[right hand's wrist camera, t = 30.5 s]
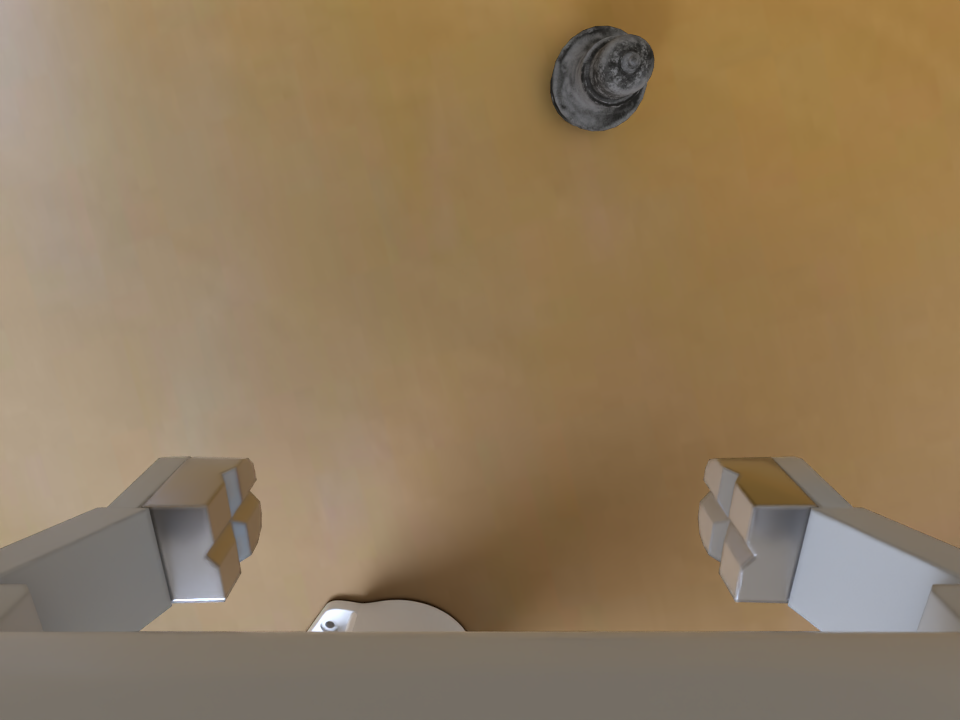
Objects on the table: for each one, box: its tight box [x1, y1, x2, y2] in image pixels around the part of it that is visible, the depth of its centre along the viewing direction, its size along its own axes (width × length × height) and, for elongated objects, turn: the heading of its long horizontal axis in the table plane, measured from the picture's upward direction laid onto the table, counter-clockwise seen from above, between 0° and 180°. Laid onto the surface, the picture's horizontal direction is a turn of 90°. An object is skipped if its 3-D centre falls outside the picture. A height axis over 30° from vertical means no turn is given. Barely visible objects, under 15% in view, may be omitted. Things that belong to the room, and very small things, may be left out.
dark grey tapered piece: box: [550, 26, 654, 131], centre depth 33 cm, size 6×6×12 cm
